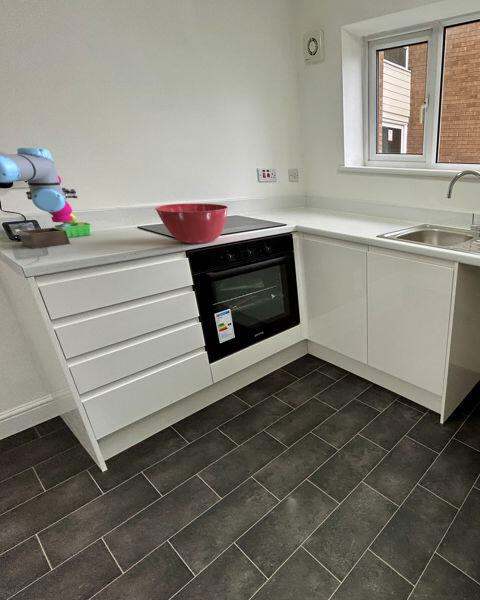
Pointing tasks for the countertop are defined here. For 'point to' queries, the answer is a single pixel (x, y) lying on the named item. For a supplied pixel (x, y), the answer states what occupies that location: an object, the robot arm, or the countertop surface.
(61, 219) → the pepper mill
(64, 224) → the fruit basket
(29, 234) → the holder
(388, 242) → the countertop surface
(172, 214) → the mixing bowl
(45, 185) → the robot arm
